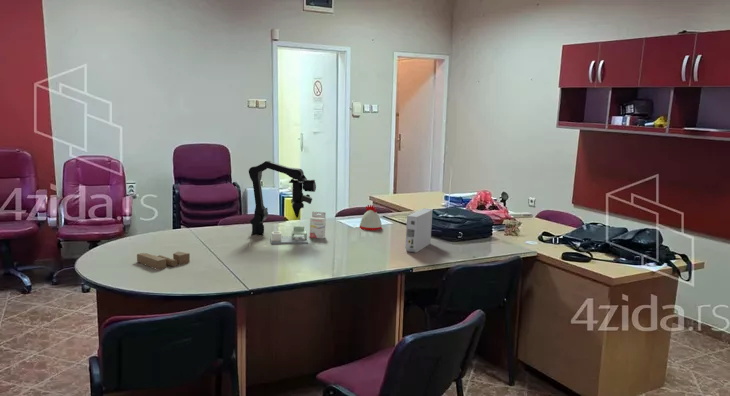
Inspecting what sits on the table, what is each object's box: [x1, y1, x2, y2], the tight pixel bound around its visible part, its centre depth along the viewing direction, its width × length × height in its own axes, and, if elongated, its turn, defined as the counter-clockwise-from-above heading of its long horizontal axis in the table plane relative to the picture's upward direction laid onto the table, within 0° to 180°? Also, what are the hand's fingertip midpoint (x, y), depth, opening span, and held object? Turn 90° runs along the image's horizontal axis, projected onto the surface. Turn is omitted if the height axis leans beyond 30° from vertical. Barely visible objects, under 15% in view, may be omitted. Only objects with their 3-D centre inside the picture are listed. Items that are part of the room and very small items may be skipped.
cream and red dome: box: [359, 204, 383, 231], centre depth 346 cm, size 14×14×15 cm
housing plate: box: [270, 235, 309, 245], centre depth 305 cm, size 20×14×4 cm
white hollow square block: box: [271, 231, 282, 241], centre depth 302 cm, size 5×5×4 cm
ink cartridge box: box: [309, 211, 327, 239], centre depth 315 cm, size 9×5×15 cm, turn 84°
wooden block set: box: [136, 251, 191, 270], centre depth 254 cm, size 17×6×18 cm
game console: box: [404, 207, 433, 254], centre depth 300 cm, size 6×27×20 cm, turn 155°
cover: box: [291, 225, 308, 240], centre depth 309 cm, size 8×7×6 cm
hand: (297, 217), depth 315 cm, fingers closed
